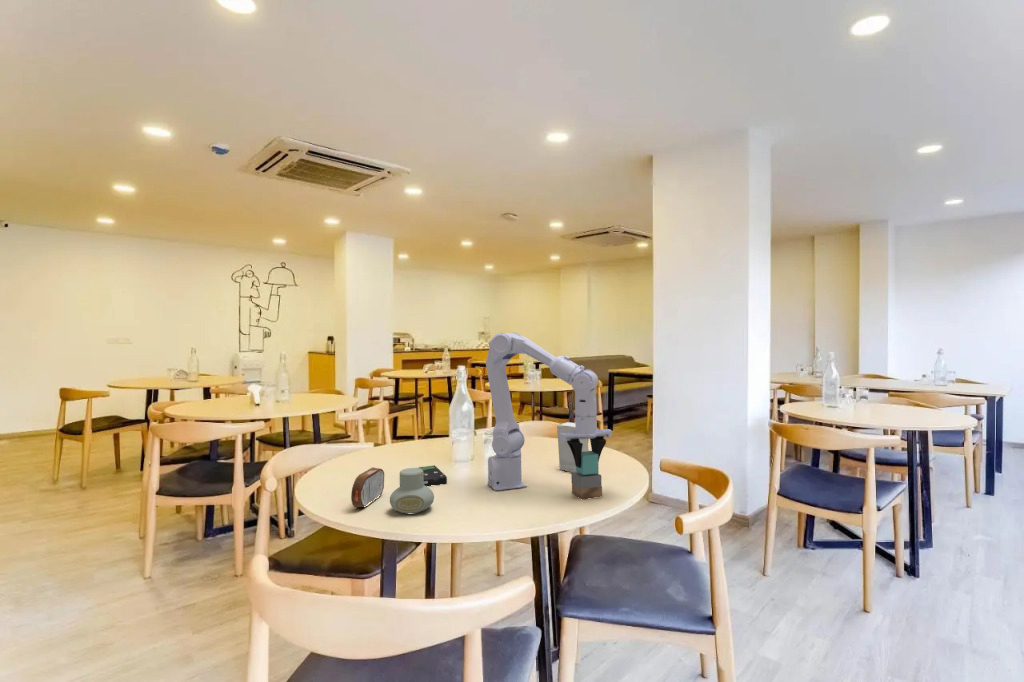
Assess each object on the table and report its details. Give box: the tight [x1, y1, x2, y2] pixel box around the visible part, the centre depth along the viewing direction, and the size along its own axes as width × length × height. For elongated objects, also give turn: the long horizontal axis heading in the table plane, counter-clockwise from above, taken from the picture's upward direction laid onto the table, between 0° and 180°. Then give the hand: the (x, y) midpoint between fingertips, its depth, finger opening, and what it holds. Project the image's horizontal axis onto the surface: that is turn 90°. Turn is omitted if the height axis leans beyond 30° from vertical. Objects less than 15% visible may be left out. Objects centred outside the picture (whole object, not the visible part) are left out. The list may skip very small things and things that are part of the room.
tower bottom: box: [571, 482, 603, 501], centre depth 137 cm, size 6×6×3 cm
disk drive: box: [418, 465, 448, 487], centre depth 154 cm, size 10×3×15 cm
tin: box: [350, 467, 385, 508], centre depth 134 cm, size 15×3×8 cm, turn 170°
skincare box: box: [556, 421, 590, 473], centre depth 161 cm, size 8×6×15 cm
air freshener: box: [389, 467, 435, 514], centre depth 127 cm, size 11×8×10 cm
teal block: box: [576, 450, 600, 475], centre depth 136 cm, size 4×4×5 cm
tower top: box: [570, 471, 603, 489], centre depth 137 cm, size 6×6×3 cm
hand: (586, 465), depth 136 cm, fingers closed on teal block, 4 cm apart
